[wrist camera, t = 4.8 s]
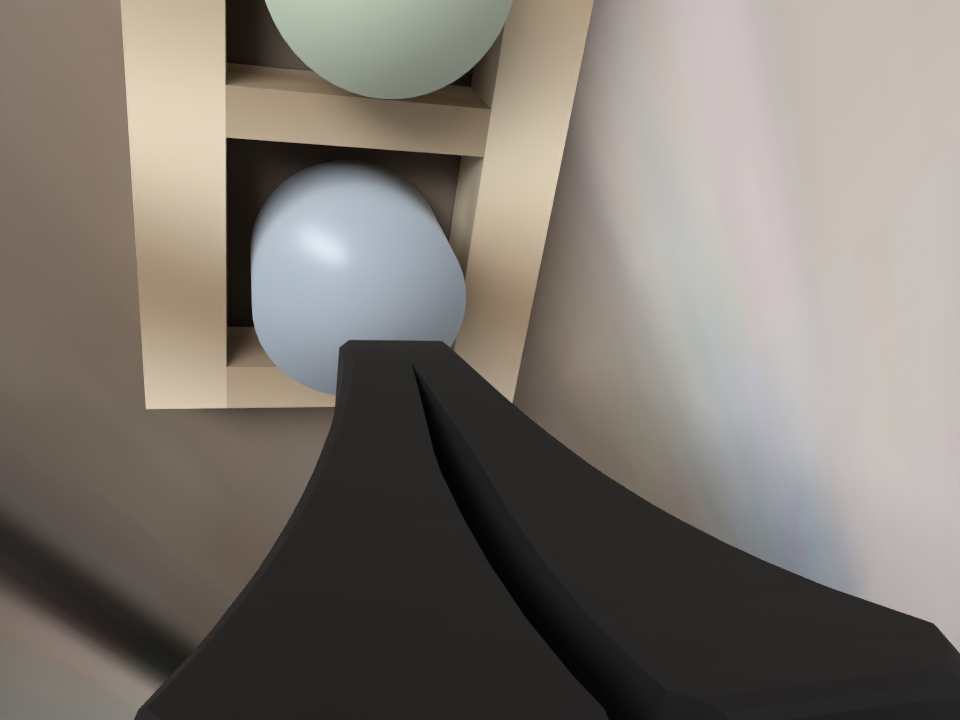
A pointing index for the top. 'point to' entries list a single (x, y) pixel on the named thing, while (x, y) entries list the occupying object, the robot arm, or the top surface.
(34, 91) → the top surface
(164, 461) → the top surface
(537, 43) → the button panel
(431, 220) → the slate button
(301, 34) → the sage button
